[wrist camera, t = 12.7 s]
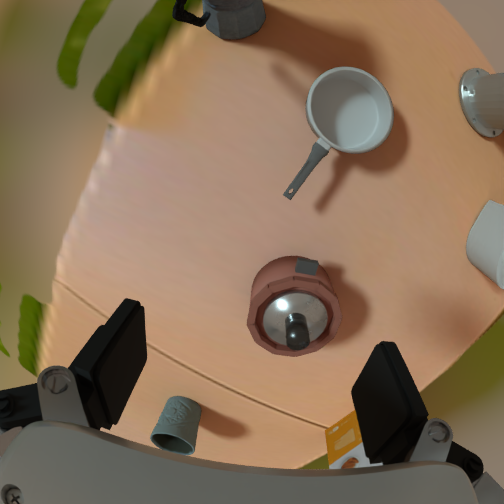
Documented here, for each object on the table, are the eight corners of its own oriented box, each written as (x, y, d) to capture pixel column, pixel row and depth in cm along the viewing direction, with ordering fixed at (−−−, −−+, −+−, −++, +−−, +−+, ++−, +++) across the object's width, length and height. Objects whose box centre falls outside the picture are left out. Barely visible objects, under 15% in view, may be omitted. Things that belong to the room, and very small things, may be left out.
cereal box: (341, 435, 63) (354, 529, 35) (324, 430, 62) (335, 530, 34) (404, 388, 55) (441, 491, 27) (390, 381, 54) (427, 493, 26)
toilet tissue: (474, 276, 43) (502, 301, 34) (455, 232, 40) (488, 254, 31) (505, 242, 40) (535, 262, 31) (490, 196, 37) (525, 211, 28)
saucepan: (251, 167, 39) (248, 171, 34) (330, 60, 32) (339, 49, 27) (315, 213, 41) (322, 223, 36) (392, 110, 34) (408, 107, 29)
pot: (343, 253, 43) (357, 277, 35) (315, 336, 49) (320, 368, 42) (261, 237, 43) (259, 260, 35) (244, 325, 49) (239, 357, 42)
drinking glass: (196, 421, 63) (187, 459, 51) (159, 407, 61) (146, 444, 50) (209, 403, 59) (200, 445, 48) (168, 387, 58) (154, 428, 47)
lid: (334, 294, 38) (342, 318, 33) (315, 344, 41) (320, 369, 36) (270, 284, 38) (270, 307, 33) (258, 336, 41) (256, 361, 36)
